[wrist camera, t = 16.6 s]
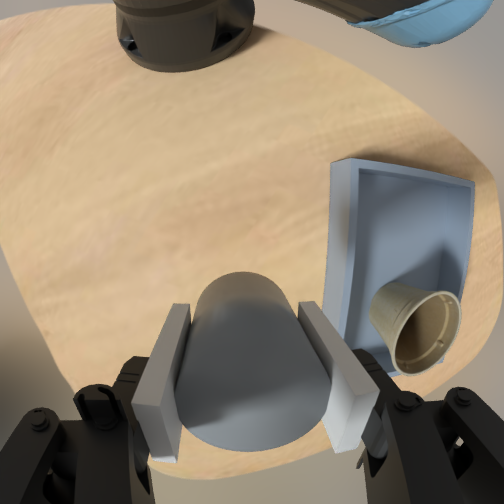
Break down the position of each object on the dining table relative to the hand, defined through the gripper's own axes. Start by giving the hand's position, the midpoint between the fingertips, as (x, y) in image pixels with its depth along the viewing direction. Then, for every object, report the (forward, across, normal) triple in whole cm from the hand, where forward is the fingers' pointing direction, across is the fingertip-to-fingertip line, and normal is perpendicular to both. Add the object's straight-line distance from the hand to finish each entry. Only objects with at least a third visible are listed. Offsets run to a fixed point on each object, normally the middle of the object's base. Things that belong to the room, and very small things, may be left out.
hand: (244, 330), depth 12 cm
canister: (+2, 0, 0) cm, 2 cm away
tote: (+16, +18, -2) cm, 24 cm away
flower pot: (+15, +18, -6) cm, 25 cm away
